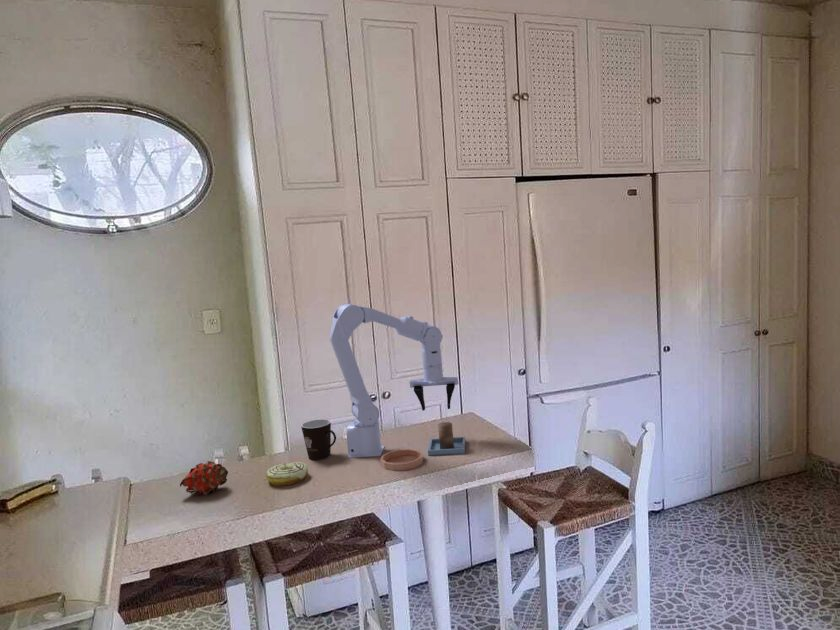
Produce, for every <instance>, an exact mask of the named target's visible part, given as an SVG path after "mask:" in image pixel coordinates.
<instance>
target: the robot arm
mask: <svg viewBox="0 0 840 630" xmlns="http://www.w3.org/2000/svg"><path fill="white" fill-rule="evenodd" d="M370 322H374V323H377V324H380V325H384V326H387V327H390V328H394V329H395V331H396V332H397V334H398V335H400V336H402V337H404V338H408V339H410V340H411V339H412V340H414V341H417V342H419V343H420V344H421V356H422V357H421V358H422V359H421V360H422V368H423V370H422V371H423V378H419V379H418V378H417V379H410V381H409V388H410V389H412V388H413V392H414V393H415V395H416V398H417V399H418V401H419V403H420V406H421V411H423V412H424V411H426V405H425V398H424V397H425V396H424V387H433V386H434V387H435V386H446V387H445V389H446V397H447V399H446V400H447V404H446V405H447V409H448V410H450V409H451V402H452V401H451V400H452V397H453V393H454V390H455V388H456V387H455V386H456V385H457V386H458V385H459V377H458V376H456V377H455V376H444V373H443V362H442V351H441V342H442V341H443V337H444V335H443V333H442V332H441V330H440V328H439V327H438V326H434V325H431V324H429V323H428V322H427V321H423V322H422V321H419V320H417V319H414V316H412V315H408V316H406V315H404V316H402V317H400V318H398V317H396V316H393V315H390V314H387V313H385V312H383V311H379V310H378V309H375V308H372V307H367V306H362V305H357V304H352V303H348V302H346V303H341V305H338V307H337V309H336V310H335V312H334V313H333V316H332V323H331V327H330V328H331V329H330V332H329V333H330V334H329V341H330V344H331V346H332V349H333V351H334V354H335V358H336V359H337V363H338V365H339V368H340V371H341V375H342V376H343V379H344V382H345V384H346V386H347V389H348V392H349V395H350V397H349V398H350V402H351V409H350V411H351V413H352V415H353V416H354V417H355V419H354V421H353V423H349V424H347V427H346V443H347V452H348V453H347V454H348V458H349V459H350V458H362V457H363V458H365V457H367V458H368V457H380V456H382V453H383V452H384V448H385V445H382V442H381V433H380V431H381V430H380V423H379V418H380V410H379V408H378V406H376V405H375V404H374V403H373V400H372V397H371V396H370V395H369V392H368V391H367V388H366V386H365V383H364V380H363V377H362V374H361V372H360V369H359V366H358V363H357V361H356V357H355V355H354V353H353V349H352V347H351V345H350V342H349V340H350V339H351V336H352V334H353V333H354V331H355V330H356V329H357V328H358V327H359V326H360V325H362V323H363V324H367V323H370Z"/></svg>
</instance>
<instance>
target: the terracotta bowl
mask: <svg viewBox="0 0 840 630" xmlns="http://www.w3.org/2000/svg"><path fill="white" fill-rule="evenodd" d="M379 461H380V466H381V467H382V468H383V469H384V470H388V471H389V470H390V471H405V470H410V469H414V468H417V467H419V466H420V465H422V464H423V462H424V453H423V452H421V451H420V450H419V449H413V448H403V449H396V450H391V451H388V452H386V453H384V454H383V455H382V454H381V457H380V460H379Z"/></svg>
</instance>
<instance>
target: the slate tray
mask: <svg viewBox="0 0 840 630" xmlns="http://www.w3.org/2000/svg"><path fill="white" fill-rule="evenodd" d="M453 442H454V448H453V449H440V442H439V437H438V438H437V437H436V438H430V439H429V443H428V447H427V455H428V456H429V457H431V456H434V457H435V456H449V455H465V454H466V436H456V437H454V436H453Z"/></svg>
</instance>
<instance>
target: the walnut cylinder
mask: <svg viewBox="0 0 840 630" xmlns="http://www.w3.org/2000/svg"><path fill="white" fill-rule="evenodd" d="M437 429H438V438H439V442H440V449H453V448H454V442H453V438H454V432H453V423H452V422H450V421H448V422H447V421H445V422H440V423H439V424H437Z"/></svg>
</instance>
